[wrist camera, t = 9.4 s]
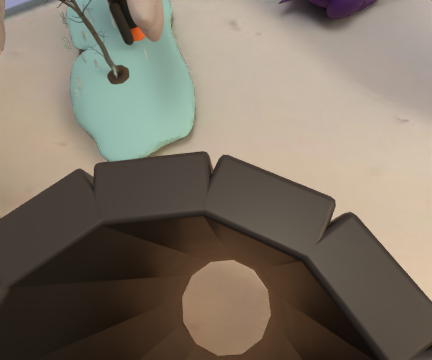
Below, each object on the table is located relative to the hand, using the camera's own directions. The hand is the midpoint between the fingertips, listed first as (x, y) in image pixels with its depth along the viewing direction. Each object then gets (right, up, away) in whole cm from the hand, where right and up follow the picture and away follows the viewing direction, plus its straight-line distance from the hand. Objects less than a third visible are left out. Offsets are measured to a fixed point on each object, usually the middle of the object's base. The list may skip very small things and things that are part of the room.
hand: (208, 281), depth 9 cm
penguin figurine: (-8, +14, +19) cm, 25 cm away
